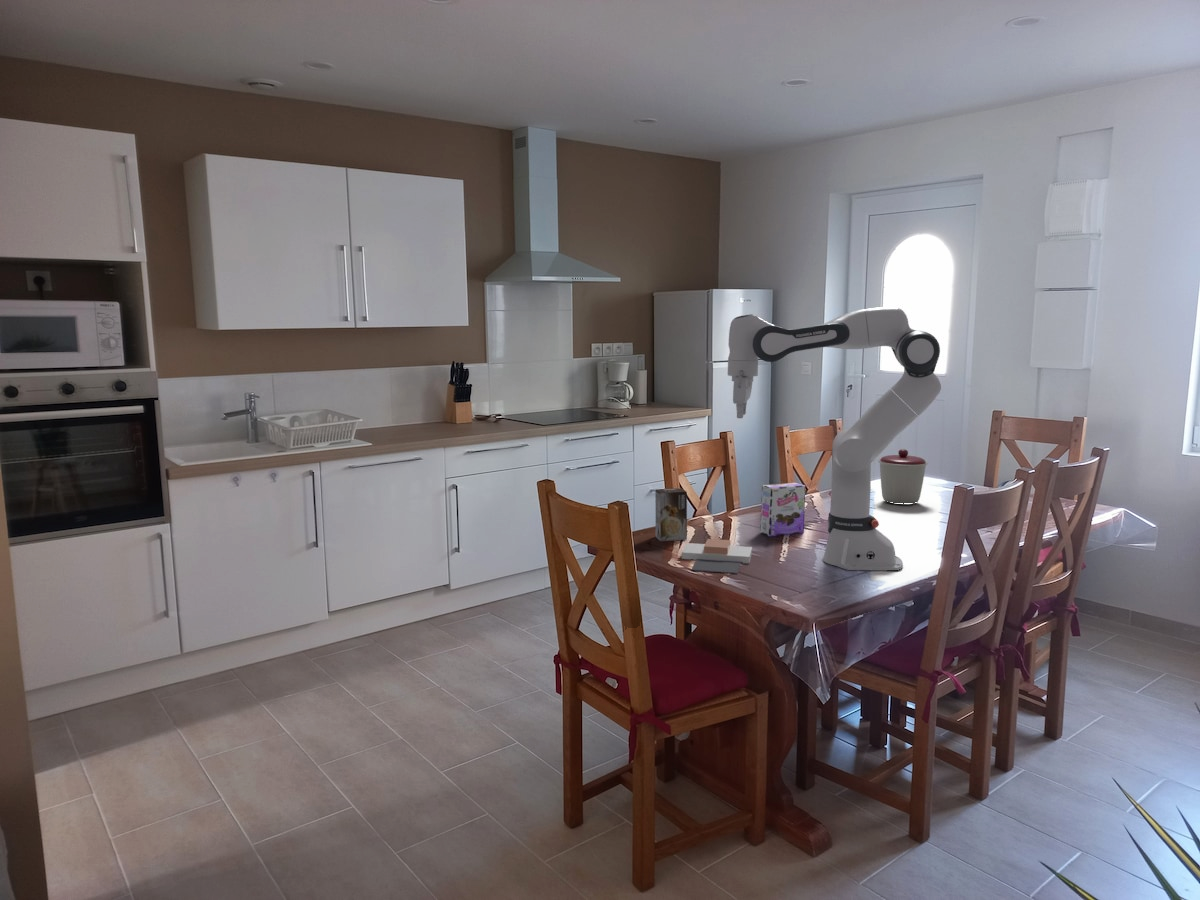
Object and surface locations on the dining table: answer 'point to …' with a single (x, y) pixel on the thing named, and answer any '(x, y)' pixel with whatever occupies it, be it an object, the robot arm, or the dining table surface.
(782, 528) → the candy box
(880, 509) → the dining table surface
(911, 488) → the canister
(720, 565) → the mat
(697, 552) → the deck
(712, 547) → the tile
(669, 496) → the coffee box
